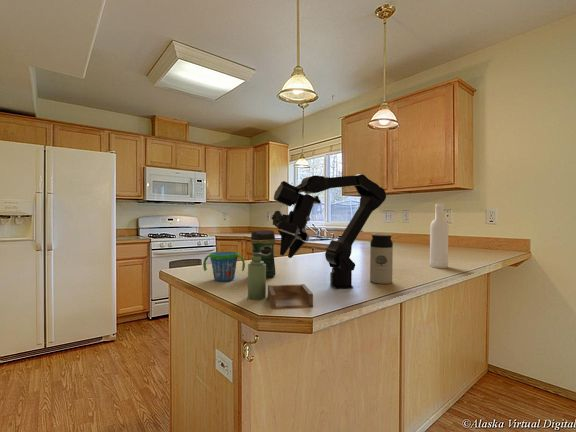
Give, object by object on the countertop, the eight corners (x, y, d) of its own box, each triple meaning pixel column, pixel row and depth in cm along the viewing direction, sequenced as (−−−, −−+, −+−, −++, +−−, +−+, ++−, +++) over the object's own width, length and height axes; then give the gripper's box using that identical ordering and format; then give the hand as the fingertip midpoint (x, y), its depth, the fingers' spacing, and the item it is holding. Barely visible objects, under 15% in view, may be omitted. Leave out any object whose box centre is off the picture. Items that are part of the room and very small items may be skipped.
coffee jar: (270, 273, 131) (270, 229, 130) (277, 277, 123) (278, 230, 123) (248, 275, 127) (248, 229, 126) (254, 279, 119) (254, 230, 119)
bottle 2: (425, 265, 152) (426, 204, 151) (437, 264, 155) (438, 204, 155) (440, 268, 144) (441, 203, 144) (451, 267, 148) (452, 204, 147)
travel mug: (373, 278, 122) (373, 232, 122) (394, 281, 118) (394, 233, 118) (367, 282, 115) (367, 233, 115) (389, 285, 111) (390, 234, 111)
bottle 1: (264, 294, 98) (265, 251, 98) (266, 299, 93) (266, 254, 92) (247, 295, 97) (247, 252, 97) (248, 300, 92) (248, 254, 91)
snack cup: (198, 281, 115) (198, 254, 115) (210, 276, 125) (210, 250, 125) (239, 283, 112) (239, 255, 112) (248, 277, 123) (248, 251, 123)
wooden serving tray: (304, 295, 97) (304, 284, 97) (313, 307, 85) (313, 293, 85) (267, 297, 95) (267, 285, 95) (271, 308, 84) (271, 295, 84)
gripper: (287, 211, 115) (272, 251, 113) (271, 197, 97) (253, 245, 96) (315, 220, 111) (300, 261, 109) (304, 207, 94) (286, 257, 92)
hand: (285, 256), depth 102 cm, fingers open, 9 cm apart
